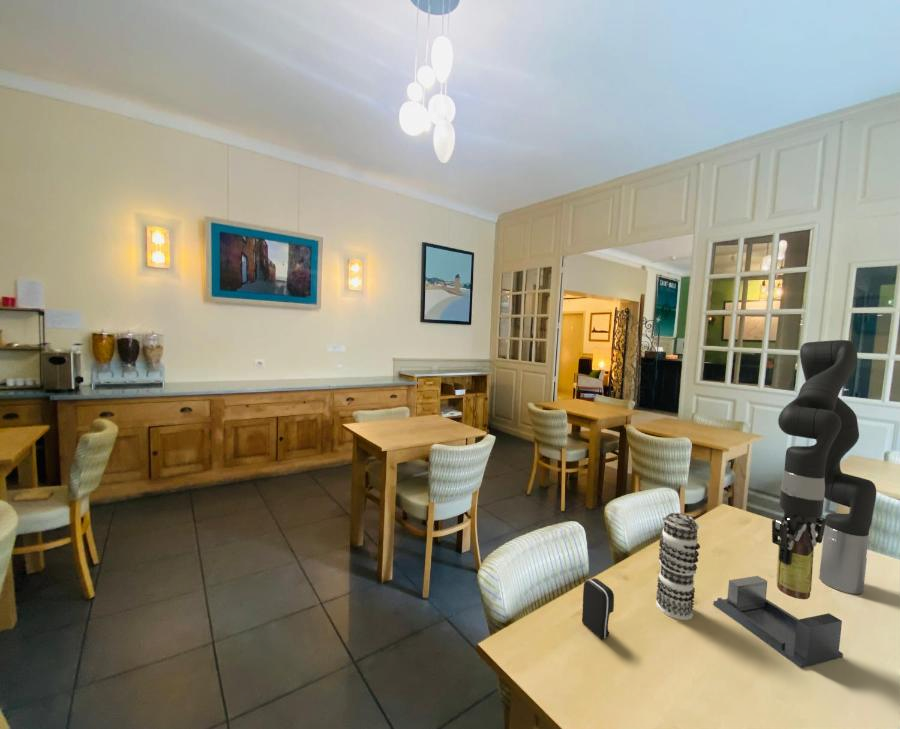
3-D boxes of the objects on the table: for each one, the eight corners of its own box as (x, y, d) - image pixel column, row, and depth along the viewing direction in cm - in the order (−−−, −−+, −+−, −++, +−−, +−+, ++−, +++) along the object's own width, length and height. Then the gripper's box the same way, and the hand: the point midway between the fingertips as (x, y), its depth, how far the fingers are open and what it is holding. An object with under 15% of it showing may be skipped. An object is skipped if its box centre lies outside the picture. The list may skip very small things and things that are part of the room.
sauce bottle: (817, 603, 89) (825, 518, 88) (785, 598, 91) (793, 515, 89) (798, 585, 96) (805, 506, 95) (768, 581, 97) (775, 503, 96)
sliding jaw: (755, 600, 106) (757, 575, 106) (765, 606, 104) (767, 581, 103) (726, 605, 103) (729, 580, 103) (736, 612, 101) (738, 586, 101)
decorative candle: (691, 603, 106) (699, 513, 104) (697, 625, 97) (705, 528, 96) (653, 593, 109) (660, 506, 108) (655, 613, 101) (662, 519, 100)
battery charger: (614, 636, 93) (617, 590, 92) (602, 641, 91) (605, 594, 90) (591, 617, 99) (594, 573, 98) (580, 621, 97) (583, 577, 96)
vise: (750, 598, 109) (752, 566, 108) (842, 657, 89) (846, 619, 88) (713, 604, 106) (716, 572, 105) (800, 668, 85) (804, 628, 85)
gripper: (806, 484, 97) (799, 549, 98) (762, 488, 93) (756, 556, 94) (843, 496, 90) (835, 566, 91) (797, 500, 86) (790, 574, 87)
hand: (795, 561), depth 93 cm, fingers closed on sauce bottle, 6 cm apart
